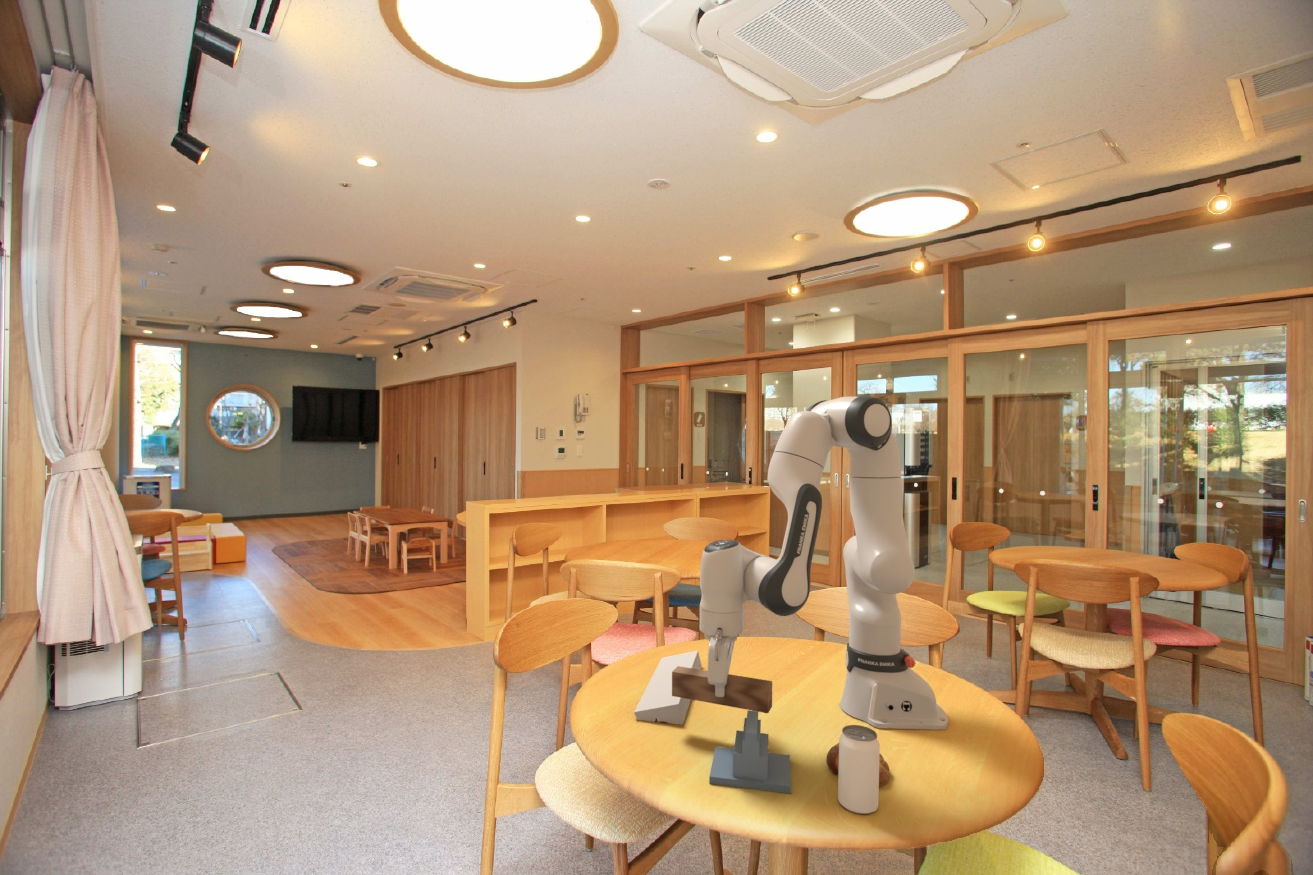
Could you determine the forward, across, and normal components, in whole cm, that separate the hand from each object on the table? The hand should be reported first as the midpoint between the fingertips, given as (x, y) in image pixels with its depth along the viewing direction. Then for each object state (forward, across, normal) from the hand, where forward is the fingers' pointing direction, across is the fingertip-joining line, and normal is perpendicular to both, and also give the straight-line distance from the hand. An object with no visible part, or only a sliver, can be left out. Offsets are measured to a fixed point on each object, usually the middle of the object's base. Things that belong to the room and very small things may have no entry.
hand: (721, 690), depth 126 cm
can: (+10, -17, -24) cm, 32 cm away
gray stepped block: (+10, -11, -6) cm, 16 cm away
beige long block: (+11, +22, +14) cm, 28 cm away
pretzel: (+11, -6, -26) cm, 29 cm away
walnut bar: (+2, 0, 0) cm, 2 cm away
